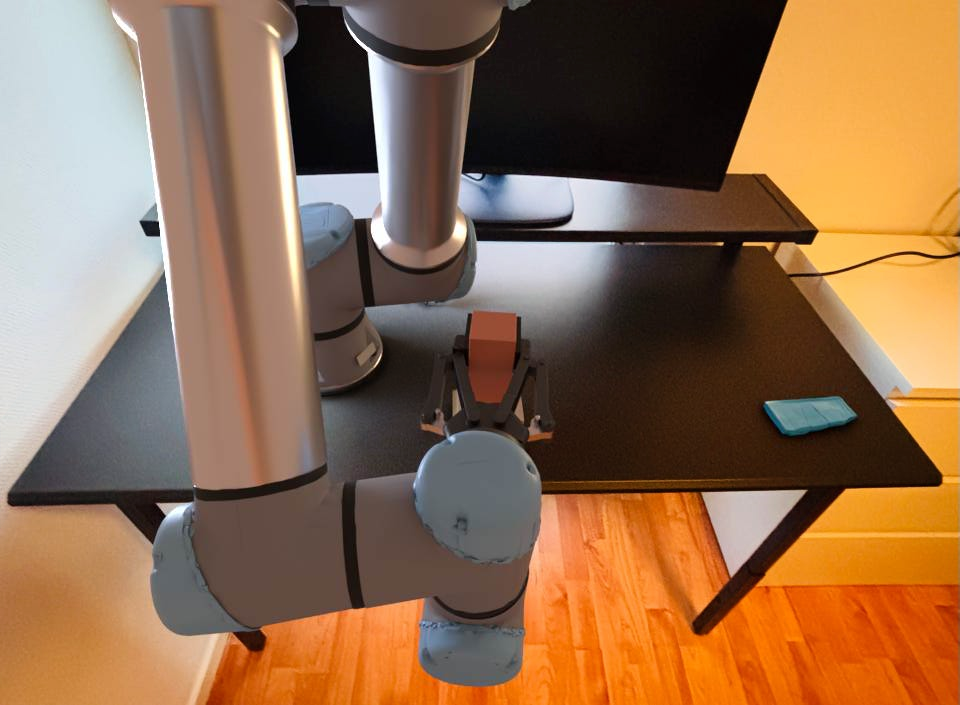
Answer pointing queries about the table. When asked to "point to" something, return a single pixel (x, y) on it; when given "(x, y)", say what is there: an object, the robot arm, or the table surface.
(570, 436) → the table surface
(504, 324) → the pillar block
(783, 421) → the sponge
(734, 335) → the table surface
